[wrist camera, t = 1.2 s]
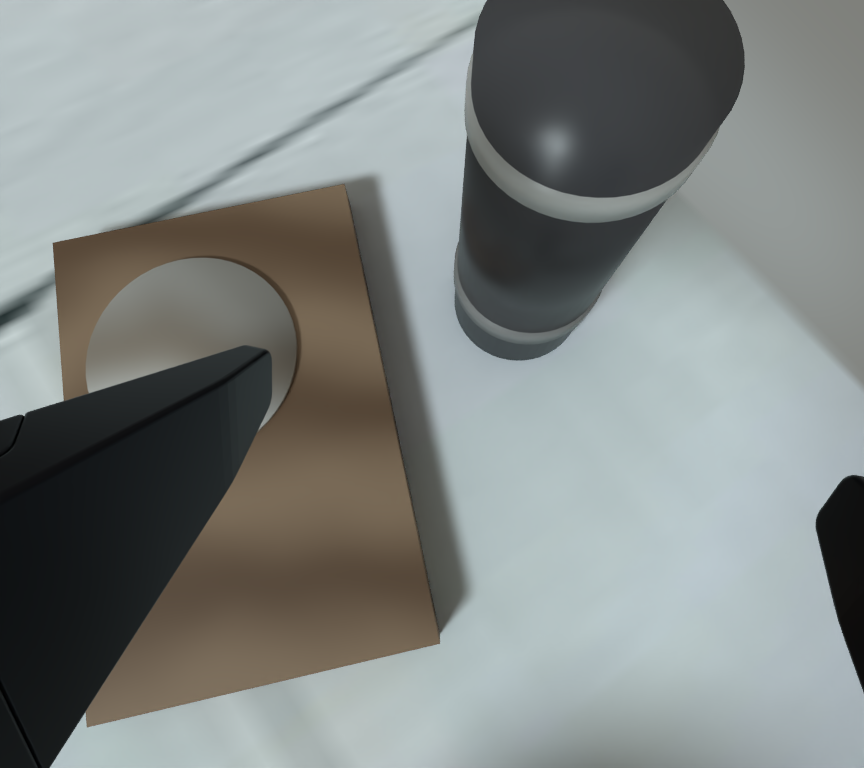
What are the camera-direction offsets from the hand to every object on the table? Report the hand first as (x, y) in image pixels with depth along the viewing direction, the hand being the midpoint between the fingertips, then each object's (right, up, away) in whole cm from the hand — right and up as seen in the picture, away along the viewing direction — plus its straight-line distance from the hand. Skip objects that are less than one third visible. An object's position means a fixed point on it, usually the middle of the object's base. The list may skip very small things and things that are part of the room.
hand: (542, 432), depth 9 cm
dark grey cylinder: (+2, +4, +15) cm, 15 cm away
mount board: (-9, -1, +14) cm, 16 cm away
